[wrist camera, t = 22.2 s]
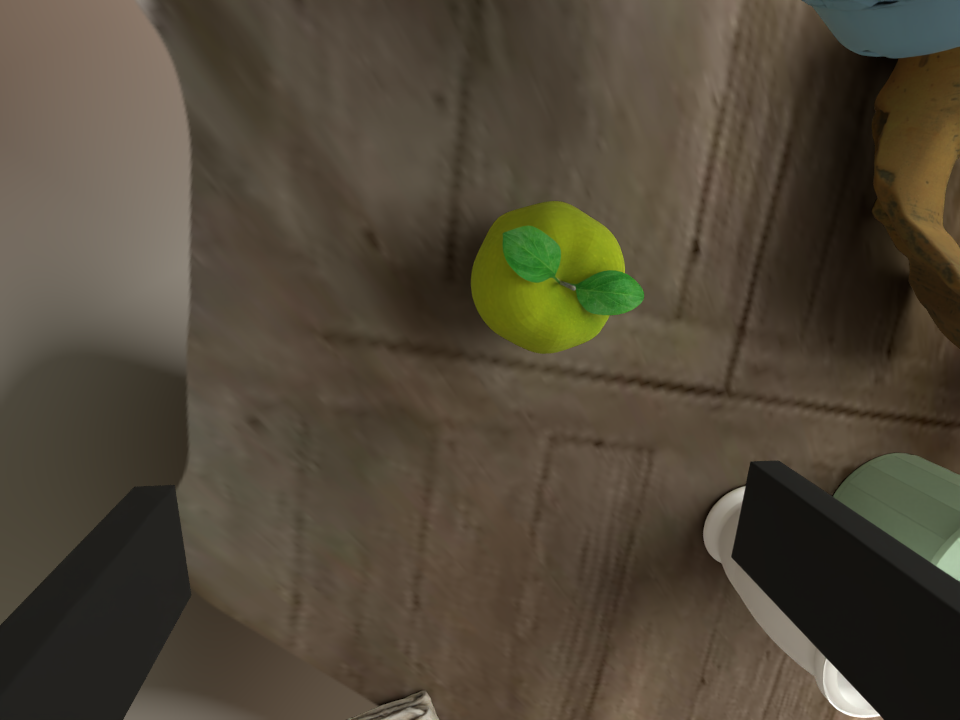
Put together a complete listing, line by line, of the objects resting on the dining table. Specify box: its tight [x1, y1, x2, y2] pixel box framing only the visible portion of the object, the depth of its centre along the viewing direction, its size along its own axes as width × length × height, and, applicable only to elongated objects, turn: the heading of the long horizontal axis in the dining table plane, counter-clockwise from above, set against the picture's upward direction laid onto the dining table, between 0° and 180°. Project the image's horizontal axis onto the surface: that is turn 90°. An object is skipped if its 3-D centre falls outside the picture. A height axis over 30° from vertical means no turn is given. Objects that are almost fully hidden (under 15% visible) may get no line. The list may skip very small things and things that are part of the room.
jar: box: [703, 486, 880, 717], centre depth 40 cm, size 11×10×15 cm
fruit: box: [471, 201, 644, 354], centre depth 32 cm, size 9×9×10 cm
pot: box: [833, 453, 960, 562], centre depth 45 cm, size 13×13×10 cm
